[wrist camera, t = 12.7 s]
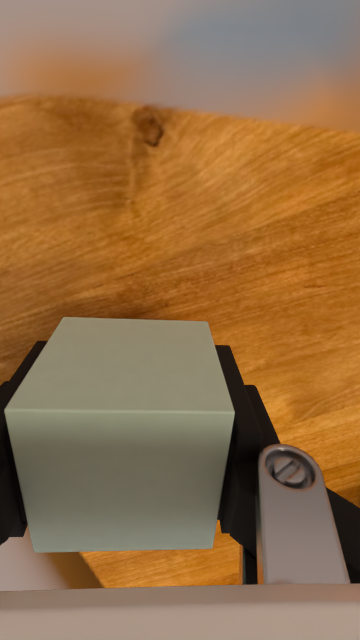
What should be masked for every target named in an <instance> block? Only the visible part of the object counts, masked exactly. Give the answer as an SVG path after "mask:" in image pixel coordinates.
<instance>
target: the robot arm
mask: <svg viewBox="0 0 360 640" xmlns="http://www.w3.org/2000/svg"><path fill="white" fill-rule="evenodd" d="M47 342H48V341H37V342H36V343H35V345H34V346H33V348H32V349H31V351H30V352H29V353H28V355H27V356H26V358H25V359H24V361H23V362H22V363H21V365H20V366H19V368H18V369H17V371H16V372H15V373H14V375H13V376H12V378H11V379H10V381H6V382H4V383H3V384H2V385H1V386H0V545H1V544H2V543H4V542H5V541H6V540H7V539H8V538H9V537H23V536H24V533H25V530H26V528H27V525H28V522H27V517H26V513H25V508H24V503H23V498H22V494H21V489H20V484H19V479H18V474H17V470H16V465H15V460H14V455H13V451H12V446H11V441H10V436H9V432H8V427H7V422H6V417H5V412H4V410H5V408H6V406H7V405H8V403H9V402H10V400H11V398H12V397H13V395H14V394H15V392H16V391H17V389H18V387H19V386H20V384H21V383H22V381H23V380H24V378H25V376H26V375H27V373H28V372H29V370H30V369H31V367H32V365H33V364H34V362H35V361H36V359H37V358H38V356H39V354H40V353H41V351H42V350H43V348H44V347H45V345H46V343H47ZM215 348H216V352H217V355H218V358H219V362H220V365H221V368H222V372H223V375H224V378H225V382H226V385H227V388H228V392H229V395H230V398H231V402H232V405H233V408H234V412H235V415H234V421H233V427H232V433H231V439H230V445H229V451H228V457H227V463H226V469H225V475H224V482H223V488H222V494H221V500H220V506H219V512H218V518H217V520H220V526H221V532H222V533H230V536H231V537H232V538H233V539H235V540H236V541H237V542H238V543H239V544H240V562H239V585H213V586H170V587H134V588H98V589H66V590H31V591H0V640H360V508H359V507H357V506H356V505H354V504H352V503H351V502H349V501H348V500H346V499H344V498H343V497H341V496H339V495H338V494H336V493H335V492H333V491H331V490H330V489H328V488H327V487H326V486H325V482H324V478H323V474H322V472H321V469H320V467H319V465H318V464H317V463H316V461H315V460H314V459H313V458H312V457H311V456H310V455H308V454H307V453H306V452H305V451H303V450H301V449H299V448H297V447H294V446H290V445H287V444H280V441H279V439H278V437H277V434H276V432H275V430H274V427H273V425H272V423H271V420H270V418H269V416H268V413H267V411H266V409H265V406H264V404H263V402H262V399H261V397H260V395H259V392H258V390H257V388H256V386H254V385H244V383H243V380H242V377H241V375H240V372H239V369H238V367H237V364H236V362H235V359H234V356H233V354H232V351H231V348H230V346H228V345H215Z"/></svg>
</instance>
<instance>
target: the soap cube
mask: <svg viewBox="0 0 360 640" xmlns="http://www.w3.org/2000/svg"><path fill="white" fill-rule="evenodd" d="M4 412H5V417H6V422H7V427H8V432H9V436H10V441H11V446H12V451H13V455H14V460H15V465H16V470H17V474H18V479H19V484H20V489H21V494H22V498H23V503H24V508H25V513H26V517H27V522H28V527H29V532H30V536H31V541H32V546H33V550H34V552H80V551H128V550H176V549H211V548H212V547H213V542H214V536H215V530H216V524H217V518H218V512H219V506H220V500H221V494H222V488H223V482H224V475H225V469H226V463H227V457H228V451H229V445H230V439H231V433H232V427H233V421H234V415H235V412H234V408H233V405H232V402H231V398H230V395H229V392H228V388H227V385H226V382H225V378H224V375H223V372H222V368H221V365H220V362H219V358H218V355H217V352H216V348H215V345H214V342H213V338H212V335H211V332H210V329H209V325H208V322H206V321H178V320H146V319H113V318H81V317H63V318H62V320H61V321H60V323H59V325H58V326H57V328H56V329H55V331H54V332H53V334H52V336H51V337H50V339H49V340H48V342H47V343H46V345H45V347H44V348H43V350H42V351H41V353H40V354H39V356H38V358H37V359H36V361H35V362H34V364H33V365H32V367H31V369H30V370H29V372H28V373H27V375H26V376H25V378H24V380H23V381H22V383H21V384H20V386H19V387H18V389H17V391H16V392H15V394H14V395H13V397H12V398H11V400H10V402H9V403H8V405H7V406H6V408H5V410H4Z"/></svg>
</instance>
